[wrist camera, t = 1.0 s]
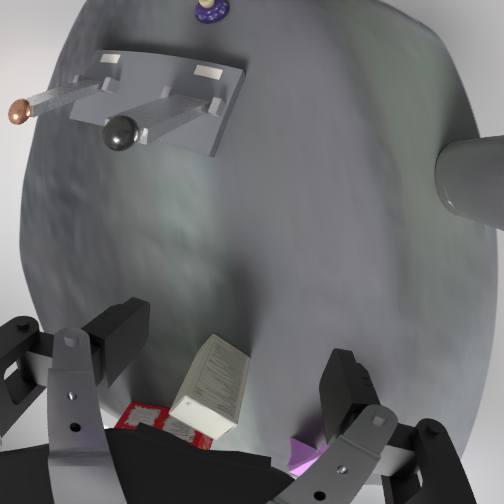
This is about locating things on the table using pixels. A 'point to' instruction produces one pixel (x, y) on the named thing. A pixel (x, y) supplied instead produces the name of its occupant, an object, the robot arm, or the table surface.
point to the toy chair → (303, 456)
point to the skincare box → (212, 389)
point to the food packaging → (162, 423)
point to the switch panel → (161, 92)
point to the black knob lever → (151, 120)
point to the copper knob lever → (52, 99)
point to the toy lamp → (211, 10)
